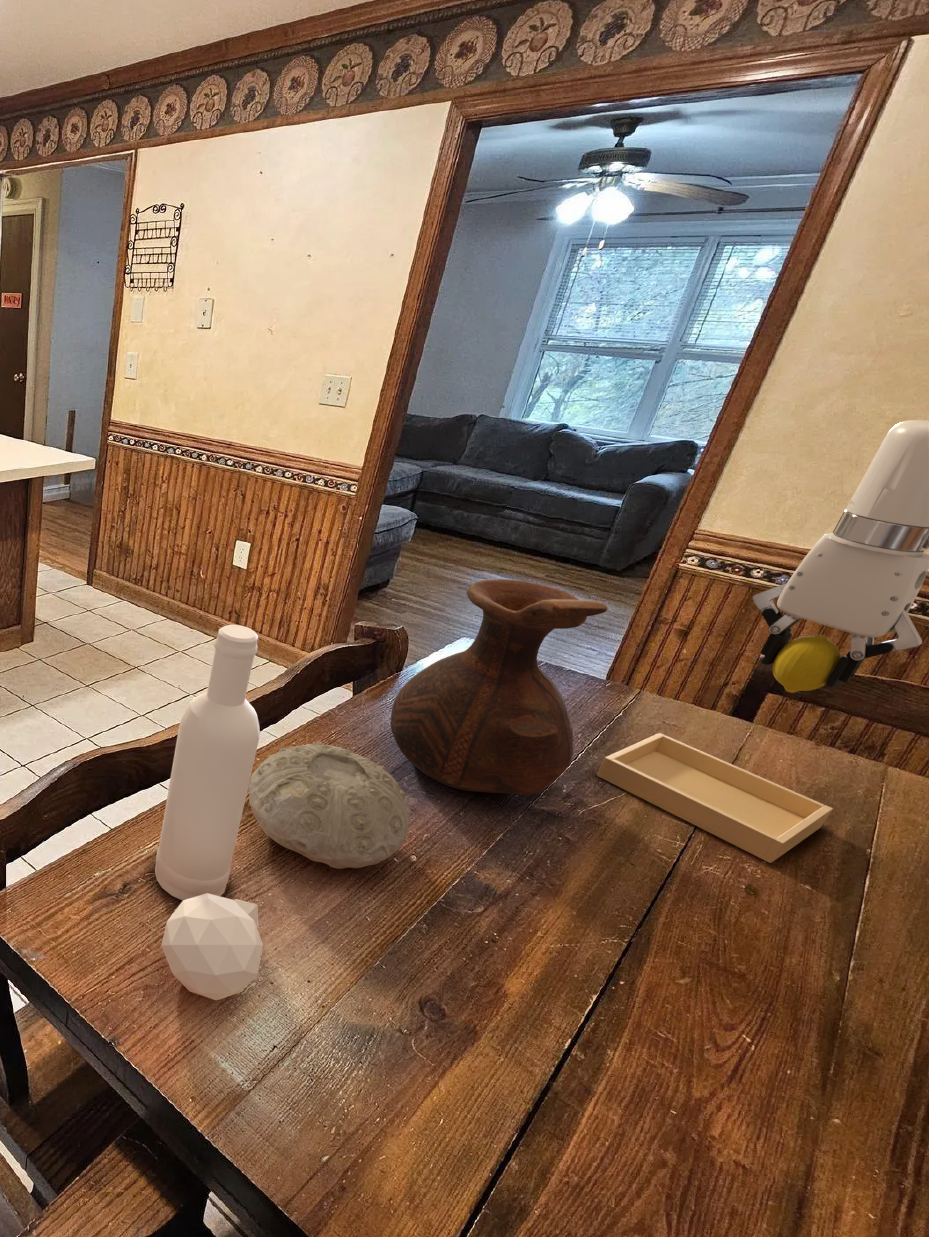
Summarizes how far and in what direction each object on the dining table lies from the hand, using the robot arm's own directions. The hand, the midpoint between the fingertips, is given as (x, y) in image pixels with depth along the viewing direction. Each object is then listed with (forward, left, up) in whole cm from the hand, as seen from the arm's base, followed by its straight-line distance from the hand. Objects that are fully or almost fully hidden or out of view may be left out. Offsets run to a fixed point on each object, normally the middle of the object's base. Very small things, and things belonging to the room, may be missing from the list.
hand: (800, 671), depth 93 cm
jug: (+20, +28, -20) cm, 40 cm away
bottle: (+20, +77, -20) cm, 83 cm away
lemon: (0, 0, -3) cm, 3 cm away
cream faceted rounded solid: (+9, +83, -20) cm, 86 cm away
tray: (+1, +3, -20) cm, 20 cm away
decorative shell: (+19, +58, -20) cm, 65 cm away
